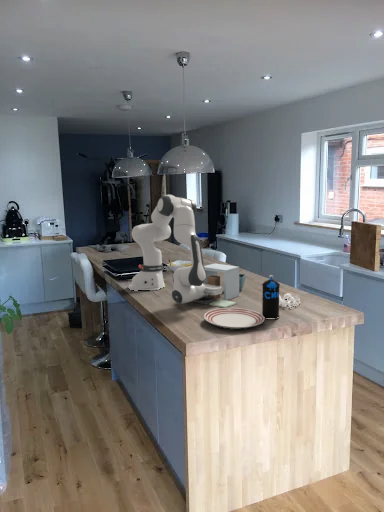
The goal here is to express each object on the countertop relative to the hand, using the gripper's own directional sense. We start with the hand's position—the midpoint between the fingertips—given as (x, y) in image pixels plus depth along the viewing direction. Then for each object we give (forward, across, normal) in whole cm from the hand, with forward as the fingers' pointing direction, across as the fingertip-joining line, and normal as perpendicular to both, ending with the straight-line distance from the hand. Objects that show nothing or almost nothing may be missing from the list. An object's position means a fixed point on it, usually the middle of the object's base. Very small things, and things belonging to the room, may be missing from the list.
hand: (213, 285), depth 238 cm
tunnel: (+6, 0, +7) cm, 9 cm away
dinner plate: (-27, -34, +7) cm, 44 cm away
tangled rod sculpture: (+15, -37, +7) cm, 40 cm away
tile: (-7, -12, +7) cm, 16 cm away
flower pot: (+21, 0, +7) cm, 22 cm away
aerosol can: (-10, -42, +7) cm, 44 cm away
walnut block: (0, 0, +7) cm, 7 cm away
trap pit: (-8, 0, +7) cm, 11 cm away
